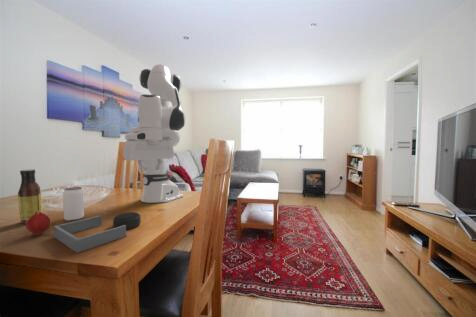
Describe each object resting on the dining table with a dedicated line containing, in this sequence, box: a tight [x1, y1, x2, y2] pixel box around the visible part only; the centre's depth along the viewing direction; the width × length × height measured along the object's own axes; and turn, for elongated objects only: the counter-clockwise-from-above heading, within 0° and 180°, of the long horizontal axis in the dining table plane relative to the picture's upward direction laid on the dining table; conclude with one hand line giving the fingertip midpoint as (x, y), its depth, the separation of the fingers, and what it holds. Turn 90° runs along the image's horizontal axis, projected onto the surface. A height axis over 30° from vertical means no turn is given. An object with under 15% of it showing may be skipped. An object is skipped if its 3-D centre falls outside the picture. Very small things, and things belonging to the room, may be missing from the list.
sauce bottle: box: [17, 168, 43, 225], centre depth 83 cm, size 7×6×20 cm
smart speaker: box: [112, 211, 142, 230], centre depth 80 cm, size 9×9×4 cm
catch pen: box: [53, 214, 127, 254], centre depth 70 cm, size 14×18×4 cm
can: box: [62, 186, 85, 222], centre depth 87 cm, size 6×6×12 cm
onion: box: [25, 211, 51, 236], centre depth 71 cm, size 6×6×8 cm
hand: (151, 170), depth 87 cm, fingers open, 5 cm apart
